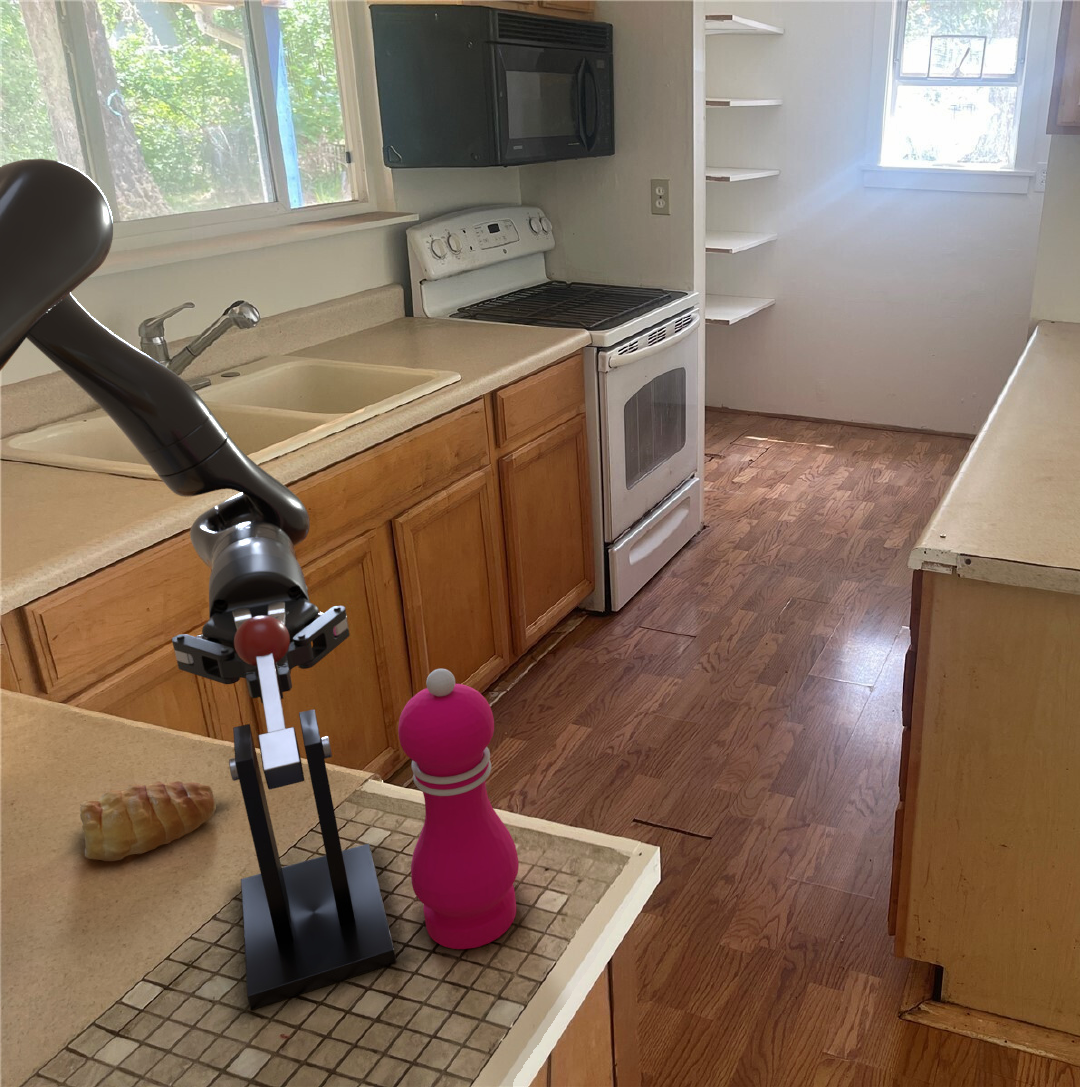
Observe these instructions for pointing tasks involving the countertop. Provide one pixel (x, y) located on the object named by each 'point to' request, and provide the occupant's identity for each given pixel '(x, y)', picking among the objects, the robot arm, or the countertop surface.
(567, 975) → the countertop surface
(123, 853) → the pastry
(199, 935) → the countertop surface
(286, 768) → the lever
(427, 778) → the pepper mill
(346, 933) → the bracket
